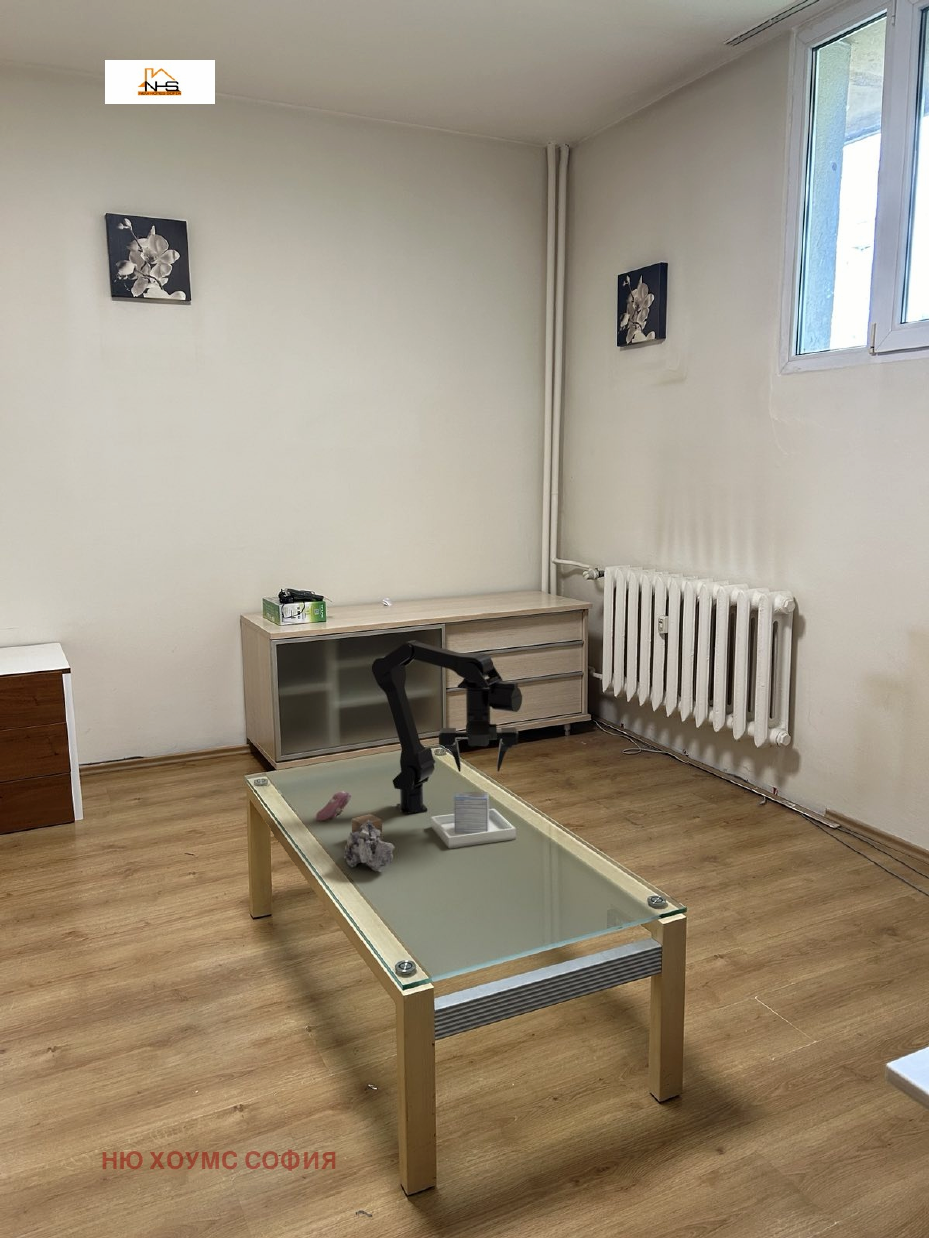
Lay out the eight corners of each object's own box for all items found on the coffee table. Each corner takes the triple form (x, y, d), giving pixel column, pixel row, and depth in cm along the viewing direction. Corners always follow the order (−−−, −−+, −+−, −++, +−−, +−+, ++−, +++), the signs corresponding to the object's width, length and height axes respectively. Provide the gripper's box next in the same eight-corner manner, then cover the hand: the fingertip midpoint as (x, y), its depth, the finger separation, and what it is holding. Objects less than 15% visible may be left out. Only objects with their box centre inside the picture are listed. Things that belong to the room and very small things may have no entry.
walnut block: (352, 839, 212) (351, 818, 211) (370, 834, 215) (370, 813, 214) (363, 846, 208) (363, 824, 207) (382, 840, 211) (381, 819, 210)
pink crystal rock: (329, 829, 223) (340, 805, 221) (313, 819, 224) (324, 795, 222) (346, 815, 232) (356, 792, 230) (331, 805, 233) (341, 782, 231)
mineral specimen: (400, 858, 191) (377, 810, 194) (355, 880, 188) (334, 832, 191) (396, 863, 203) (375, 819, 206) (355, 885, 200) (334, 839, 203)
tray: (431, 826, 219) (430, 816, 218) (494, 818, 224) (494, 808, 224) (449, 848, 206) (448, 837, 205) (515, 838, 211) (515, 828, 210)
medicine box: (489, 827, 217) (489, 791, 215) (488, 834, 212) (487, 797, 211) (456, 826, 217) (455, 791, 216) (454, 833, 213) (453, 797, 212)
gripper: (437, 716, 210) (438, 782, 213) (518, 715, 210) (519, 781, 212) (439, 704, 221) (440, 767, 224) (517, 703, 221) (517, 766, 223)
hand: (479, 771), depth 220 cm, fingers open, 9 cm apart
